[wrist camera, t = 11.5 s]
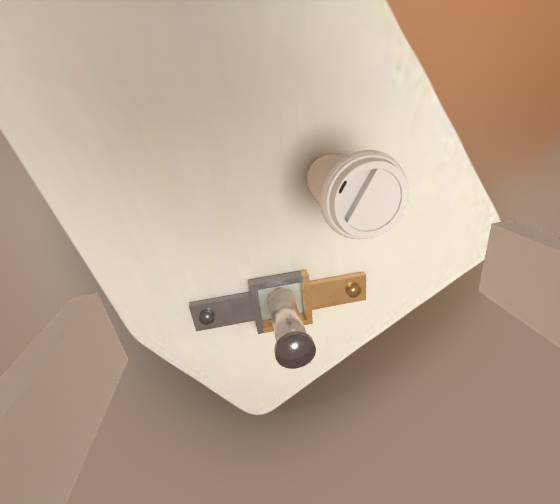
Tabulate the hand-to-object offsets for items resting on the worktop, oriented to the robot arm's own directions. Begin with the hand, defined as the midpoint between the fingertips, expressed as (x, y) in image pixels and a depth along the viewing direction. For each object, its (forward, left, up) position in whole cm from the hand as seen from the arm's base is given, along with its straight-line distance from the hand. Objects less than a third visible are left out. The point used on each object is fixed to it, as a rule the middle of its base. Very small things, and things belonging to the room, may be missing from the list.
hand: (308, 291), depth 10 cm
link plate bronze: (+23, +7, -34) cm, 42 cm away
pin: (+23, +2, -34) cm, 41 cm away
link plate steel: (+23, -4, -34) cm, 41 cm away
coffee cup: (+3, +11, -34) cm, 36 cm away
